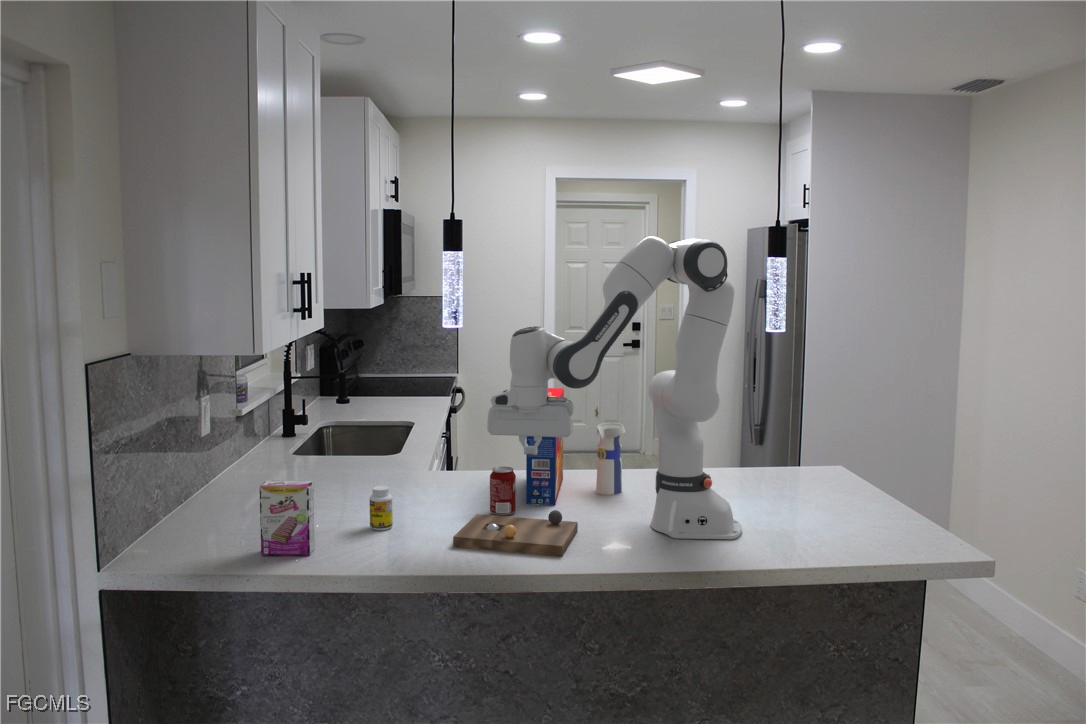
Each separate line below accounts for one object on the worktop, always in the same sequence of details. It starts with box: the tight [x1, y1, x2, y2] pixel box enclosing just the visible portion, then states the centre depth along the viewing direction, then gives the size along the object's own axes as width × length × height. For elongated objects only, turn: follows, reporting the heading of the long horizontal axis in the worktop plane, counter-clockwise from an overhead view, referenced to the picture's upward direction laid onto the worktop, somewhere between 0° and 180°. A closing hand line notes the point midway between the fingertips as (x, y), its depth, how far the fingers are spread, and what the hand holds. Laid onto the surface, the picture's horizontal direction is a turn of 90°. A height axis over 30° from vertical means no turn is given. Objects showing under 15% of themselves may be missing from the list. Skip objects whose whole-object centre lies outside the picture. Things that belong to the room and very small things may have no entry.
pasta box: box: [525, 387, 565, 506], centre depth 246 cm, size 28×8×28 cm, turn 174°
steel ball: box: [486, 523, 500, 531], centre depth 206 cm, size 3×3×3 cm
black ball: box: [547, 509, 563, 524], centre depth 209 cm, size 3×3×3 cm
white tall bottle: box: [594, 406, 626, 496], centre depth 245 cm, size 8×9×25 cm
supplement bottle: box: [369, 485, 394, 532], centre depth 212 cm, size 6×6×10 cm
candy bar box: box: [259, 480, 316, 557], centre depth 194 cm, size 11×5×16 cm, turn 92°
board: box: [452, 513, 579, 557], centre depth 205 cm, size 26×18×2 cm
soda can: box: [489, 465, 517, 517], centre depth 225 cm, size 7×7×12 cm
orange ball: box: [504, 525, 517, 538], centre depth 198 cm, size 3×3×3 cm
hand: (530, 454), depth 202 cm, fingers closed
